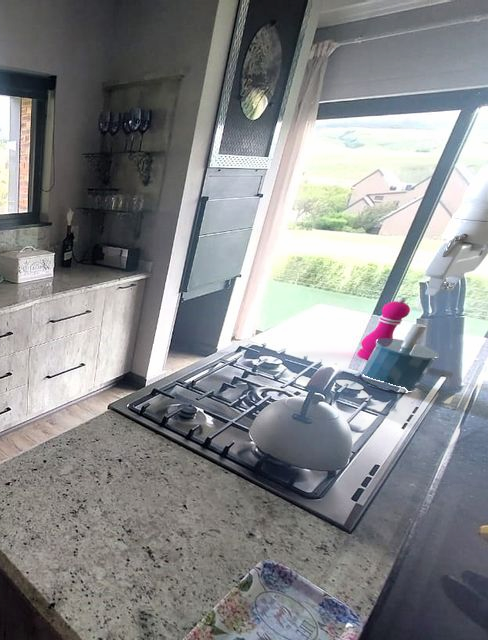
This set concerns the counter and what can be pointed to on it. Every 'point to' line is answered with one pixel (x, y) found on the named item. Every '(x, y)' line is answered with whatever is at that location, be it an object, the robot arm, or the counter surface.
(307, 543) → the counter surface
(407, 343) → the lid
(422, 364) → the cup
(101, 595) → the counter surface
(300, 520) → the counter surface
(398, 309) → the pepper mill
